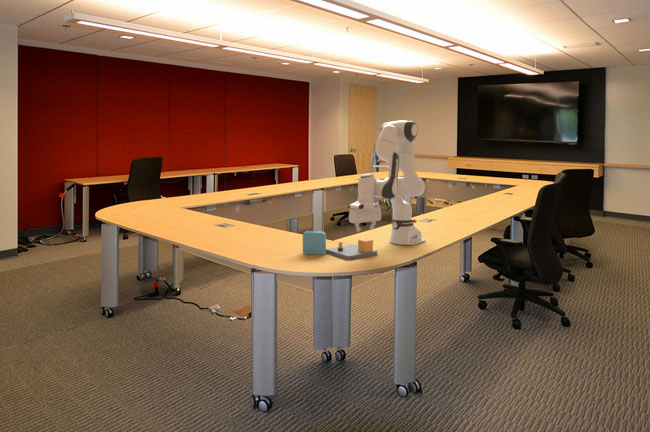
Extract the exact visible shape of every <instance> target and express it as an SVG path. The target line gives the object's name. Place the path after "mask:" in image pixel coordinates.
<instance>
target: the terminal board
mask: <svg viewBox="0 0 650 432" xmlns="http://www.w3.org/2000/svg"><path fill="white" fill-rule="evenodd" d="M325 253H326V254H328V255H331V256H335V257H338V258H341V259H345V260H347V261H350V260H357V259H362V258H367V257H371V256H376V255H378V250H376V249H373V251H371V252H361V251H358V244H348V245H343V241H339V242H338V246H337V247H336V246H335V247H331V248H330V247H329V248H326V252H325ZM325 253H324V254H325Z"/></svg>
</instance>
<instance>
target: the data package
mask: <svg viewBox="0 0 650 432" xmlns="http://www.w3.org/2000/svg"><path fill="white" fill-rule="evenodd" d="M326 249H327V234H326V232H325V231H323V230H322V231H319V230H318V231H316V230H315V231H314V230H312V231H311V230H306V231H304V232H303V233H302V253H303V254H305V255H314V256H315V255H318V256H319V255H320V256H322V255H324V254H325V252H326Z"/></svg>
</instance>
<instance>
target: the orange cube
mask: <svg viewBox="0 0 650 432" xmlns="http://www.w3.org/2000/svg"><path fill="white" fill-rule="evenodd" d="M357 245H358V251H361V252H371V251H373V250H374V248H373V247H374V240H372V239H371V238H370V239H369V238H361V239H358V240H357Z"/></svg>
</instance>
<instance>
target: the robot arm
mask: <svg viewBox="0 0 650 432" xmlns="http://www.w3.org/2000/svg"><path fill="white" fill-rule="evenodd" d="M379 129H380V131H379V134H378V138H377V140H376V144H375V154H376V156H377V157H378V159H381V160H382V161H383V162H386V163H387V164H388V177H385V178H384V179H377V178H375V176H374V174H372V173H363V174H361V175H359V177H358V181H357V182H358V183H357V193H358V196H357V200H355V202H353V203H350V204H349V208H350V209H349V212H348V221H349V223H351V224H354V226H355V228H356V229H355V230H356V231H355V232H360V231H362V230H361V229H362V228H361V227H360V226H359V225H360V224H362V223H371V225H370V226H369V230H370V231H371V230H374V229H375V226H376V224H377V222H379V221H381V220H382V209H381V204H379V203H375V198H377V199H378V198H380V199H384V200H385V199H387V200H390V203H391V206H392V219H391V233H390V237H389V243H390V244H394V245H403V246H404V245H407V246H409V245H410V246H414V245H418V244H421V243H425V242H426V239H425V238H423V235H422V231H421V230H420V229H419V228H418V227H416V226H415V225H414V223H415V224H416V223H417V221H418V220H417V219H414V218H413V219H412V216H413V215H412V213H413V210H412V209H413V206H412V205H411V203H409V202H408V201H406V200H404V197H418V196H422V195H423V194H424V192H425V189H426V184H425V182H424V180H423V179H422V178H420V176H419V175H418V173H417V171H416V168H415V149H416V148H415V146H416V145H415V139H416V137H417V135H418V132H419V128H418V125H417V123H416V122H415V121H413V120H394V121H387V122H384V123H382V125H381V126H380V128H379ZM399 171H400V172H401V173H402V174H403V176H399Z"/></svg>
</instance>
